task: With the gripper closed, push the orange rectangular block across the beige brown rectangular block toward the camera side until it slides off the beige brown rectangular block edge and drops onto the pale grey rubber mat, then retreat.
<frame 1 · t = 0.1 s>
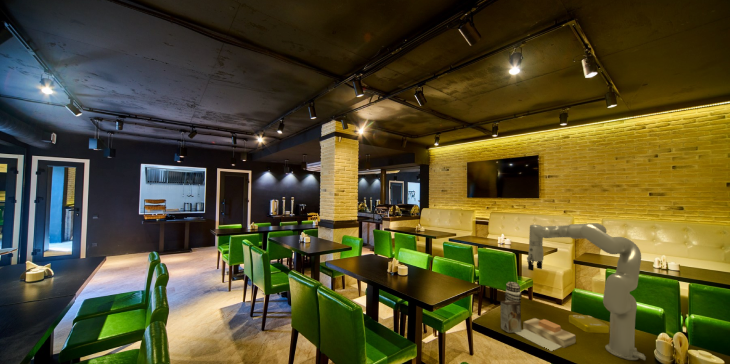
hand: (535, 269, 184), 31 cm above the table, fingers open, 9 cm apart
decorative candle: (512, 323, 172), on the table
mat: (537, 339, 154), on the table
coffee box: (510, 330, 164), on the table, touching mat
element tile: (588, 327, 172), on the table
beige brown rectangular block: (548, 335, 159), on the table
orange rectangular block: (549, 327, 160), point 4 cm above the table, touching beige brown rectangular block
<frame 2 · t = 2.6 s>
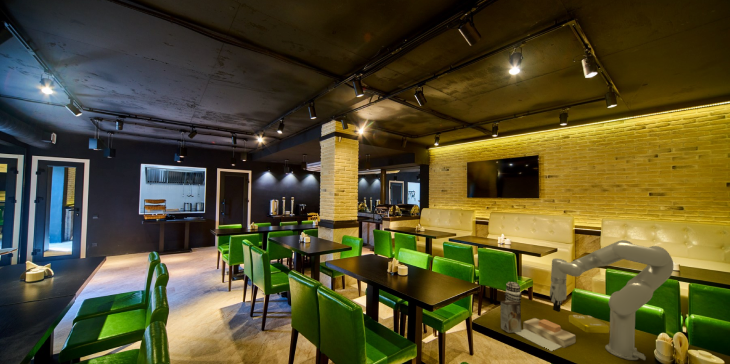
hand: (556, 310, 165), 12 cm above the table, fingers closed
nothing on the table moved.
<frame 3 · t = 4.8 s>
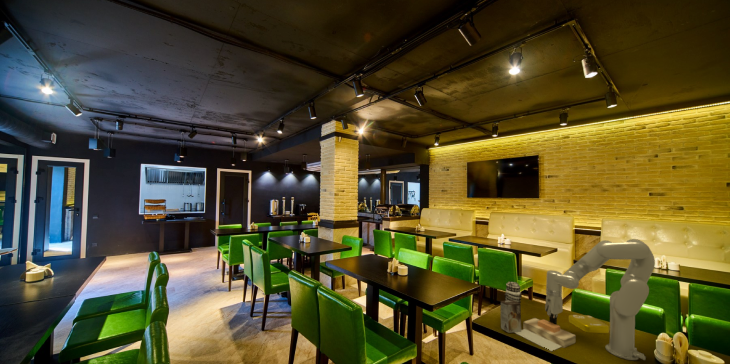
hand: (552, 324, 162), 5 cm above the table, fingers closed
orange rectangular block: (548, 328, 160), point 4 cm above the table, touching beige brown rectangular block, gripper
everything else where it was.
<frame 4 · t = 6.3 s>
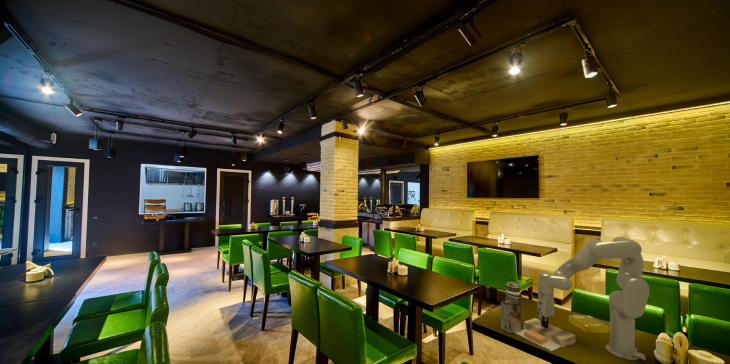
hand: (544, 327, 158), 5 cm above the table, fingers closed
orange rectangular block: (535, 334, 154), point 3 cm above the table, tilted 180°, touching mat
everything else where it was.
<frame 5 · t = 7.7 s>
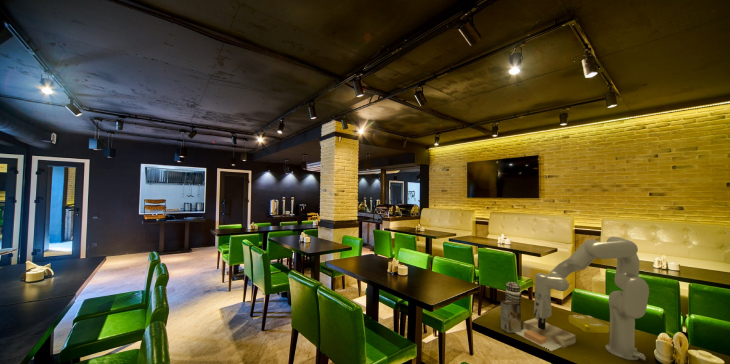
hand: (541, 328, 156), 5 cm above the table, fingers closed
nothing on the table moved.
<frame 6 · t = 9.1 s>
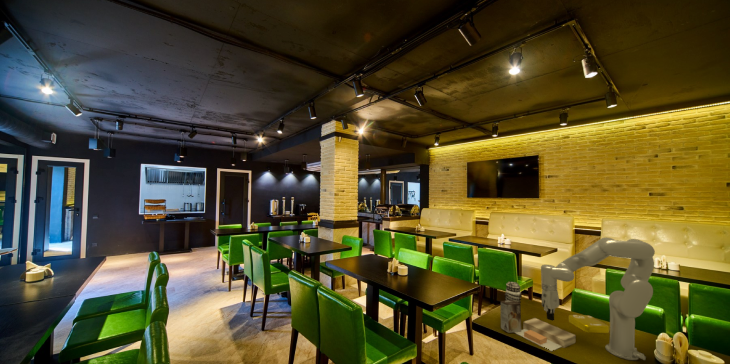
hand: (550, 319, 159), 10 cm above the table, fingers closed
nothing on the table moved.
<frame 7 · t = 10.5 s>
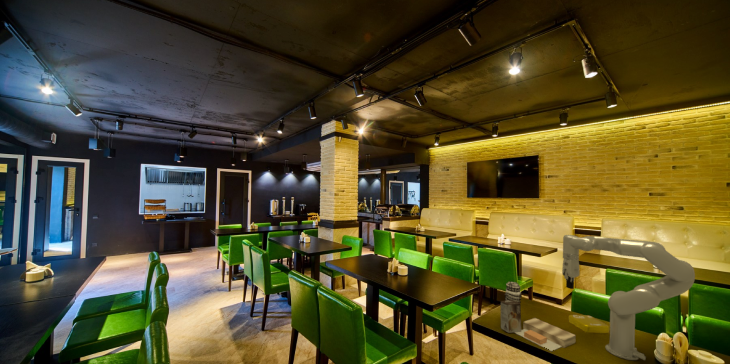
hand: (569, 288, 161), 27 cm above the table, fingers closed
nothing on the table moved.
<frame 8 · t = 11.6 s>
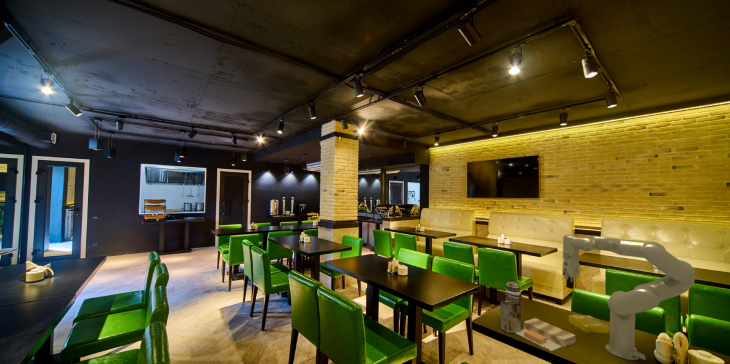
hand: (569, 288, 161), 27 cm above the table, fingers closed
nothing on the table moved.
at the end: orange rectangular block point 2.8 cm above the table; orange rectangular block inside the target area on the mat (1.5 cm from its centre), point 2.8 cm above the mat's base; orange rectangular block touching mat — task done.
